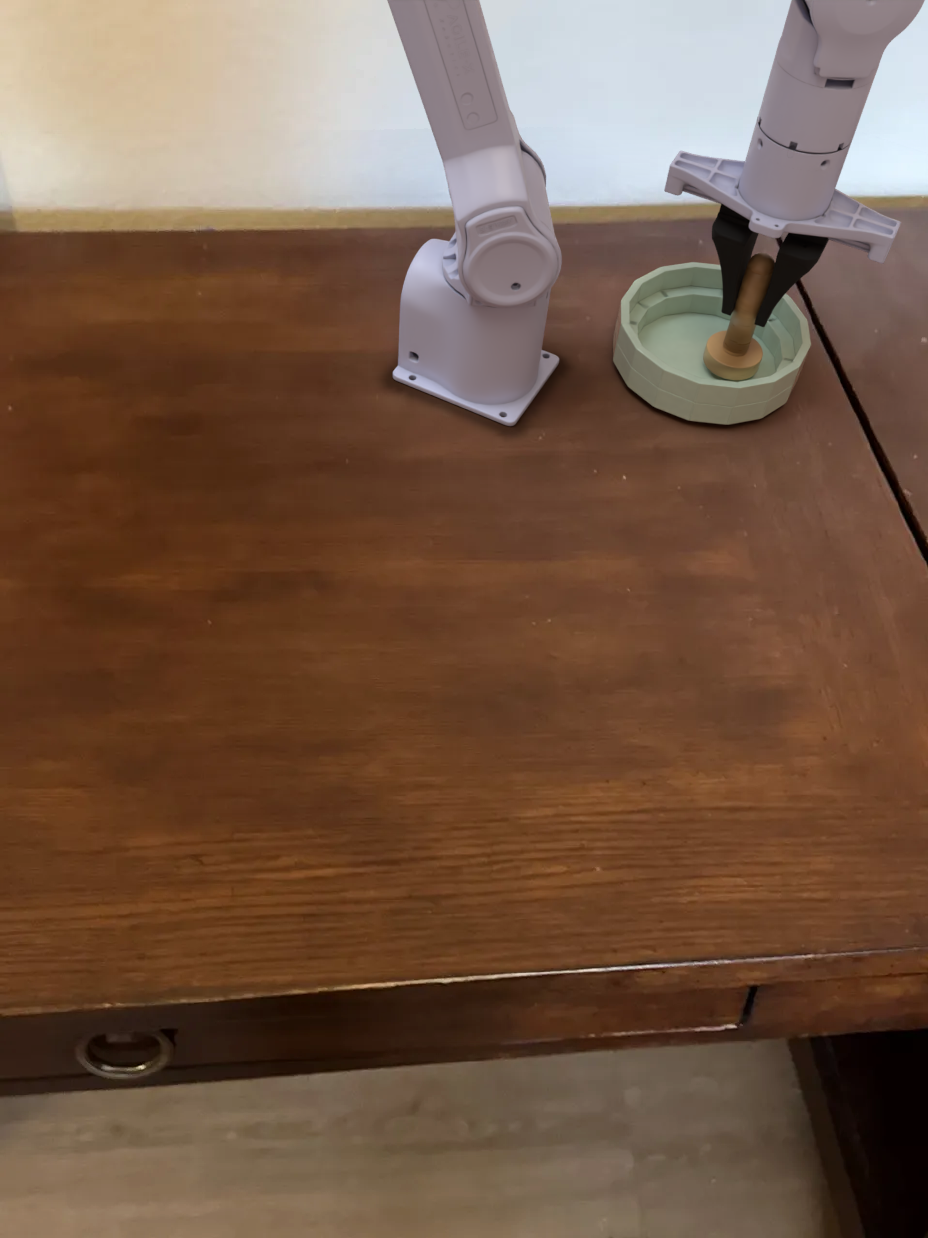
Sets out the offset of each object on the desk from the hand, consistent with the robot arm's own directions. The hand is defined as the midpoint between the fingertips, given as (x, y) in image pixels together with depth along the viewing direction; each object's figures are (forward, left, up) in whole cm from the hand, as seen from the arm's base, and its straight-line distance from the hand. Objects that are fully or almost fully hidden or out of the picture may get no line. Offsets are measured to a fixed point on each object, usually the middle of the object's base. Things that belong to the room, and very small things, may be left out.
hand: (746, 311), depth 83 cm
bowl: (-2, 0, -6) cm, 6 cm away
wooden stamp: (0, 0, -4) cm, 4 cm away
